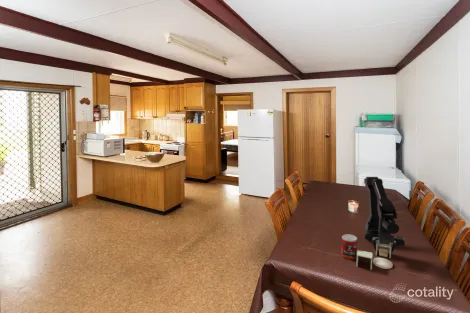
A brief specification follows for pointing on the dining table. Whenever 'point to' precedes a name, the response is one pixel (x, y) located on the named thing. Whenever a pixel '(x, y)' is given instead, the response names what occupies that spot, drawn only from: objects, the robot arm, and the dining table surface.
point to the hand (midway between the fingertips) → (383, 252)
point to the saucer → (382, 263)
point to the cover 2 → (383, 246)
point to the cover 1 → (364, 254)
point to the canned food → (349, 246)
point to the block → (383, 251)
